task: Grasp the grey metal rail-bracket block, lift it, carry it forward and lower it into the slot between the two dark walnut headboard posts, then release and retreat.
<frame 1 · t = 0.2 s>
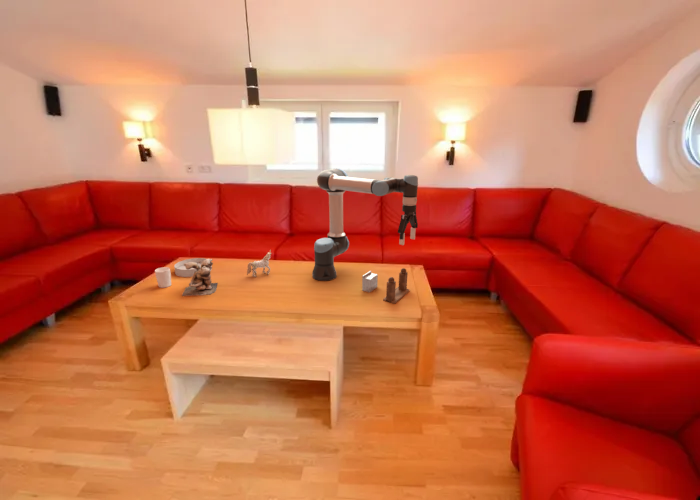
hand: (407, 241, 202), 27 cm above the table, fingers open, 13 cm apart
white cup: (165, 285, 210), on the table
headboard: (396, 295, 199), on the table
unicorn figurine: (260, 273, 229), on the table
dish: (193, 271, 233), on the table
cherub figurine: (200, 289, 206), on the table
rail bracket: (369, 288, 207), on the table
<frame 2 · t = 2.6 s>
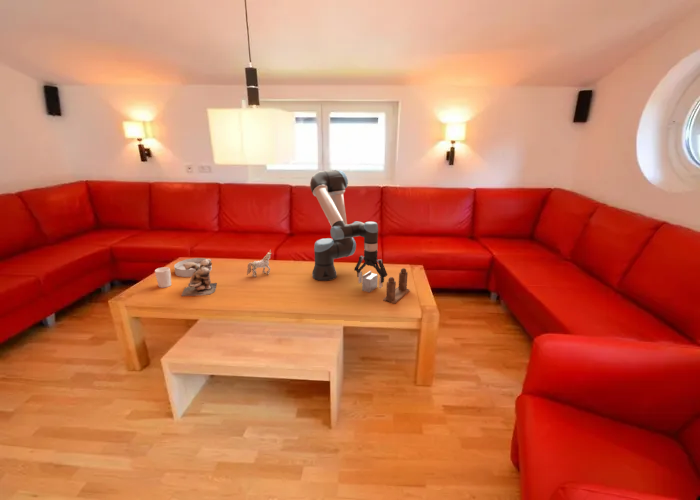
hand: (370, 285, 206), 2 cm above the table, fingers open, 13 cm apart
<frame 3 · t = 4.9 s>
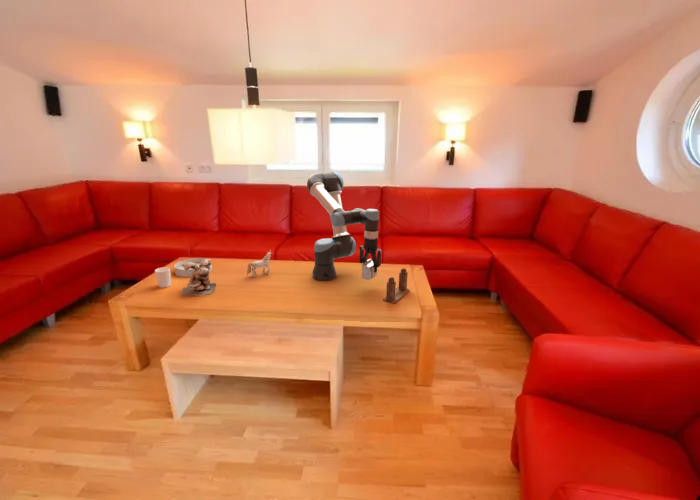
hand: (369, 275, 206), 8 cm above the table, fingers closed on rail bracket, 5 cm apart
rail bracket: (369, 276, 206), point 7 cm above the table, touching gripper
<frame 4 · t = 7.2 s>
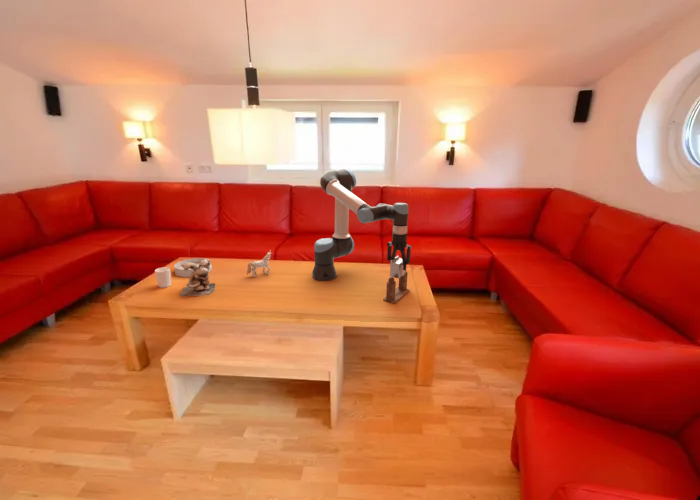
hand: (397, 274, 195), 13 cm above the table, fingers closed on rail bracket, 5 cm apart
rail bracket: (397, 274, 195), point 13 cm above the table, touching gripper
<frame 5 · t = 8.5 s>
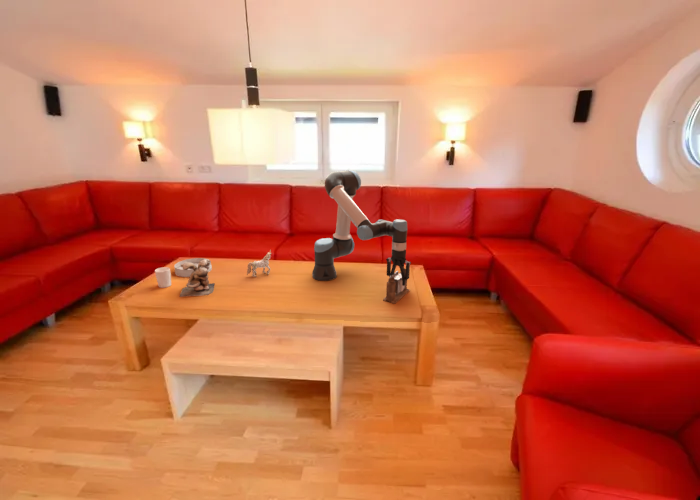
hand: (397, 289, 197), 4 cm above the table, fingers closed on rail bracket, 5 cm apart
rail bracket: (397, 289, 197), point 4 cm above the table, touching gripper
when the fingers open (2 cm above the table, at t = 9.7 s): rail bracket stays where it is, resting on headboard.
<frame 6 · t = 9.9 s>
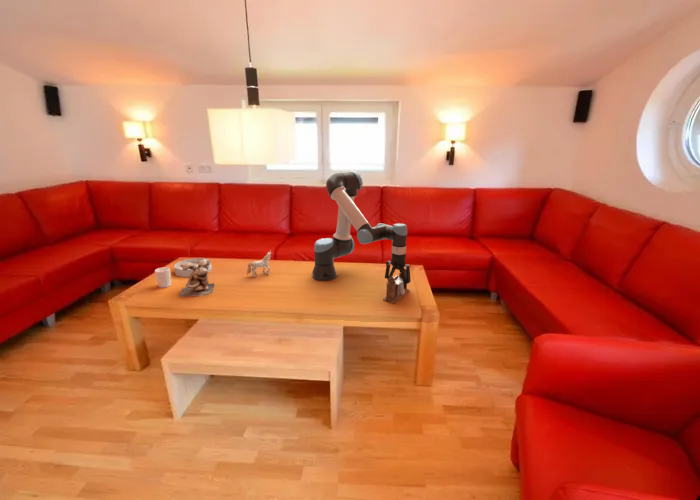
hand: (396, 292, 198), 2 cm above the table, fingers open, 7 cm apart
rail bracket: (396, 294, 198), point 1 cm above the table, touching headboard
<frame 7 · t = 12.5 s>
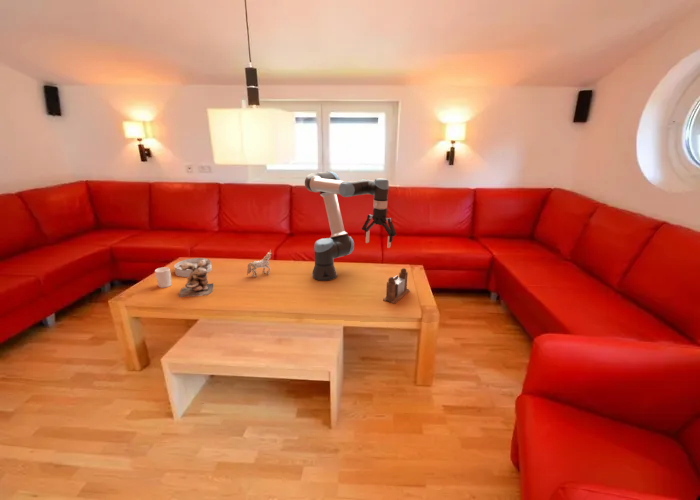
hand: (377, 244, 201), 26 cm above the table, fingers open, 13 cm apart
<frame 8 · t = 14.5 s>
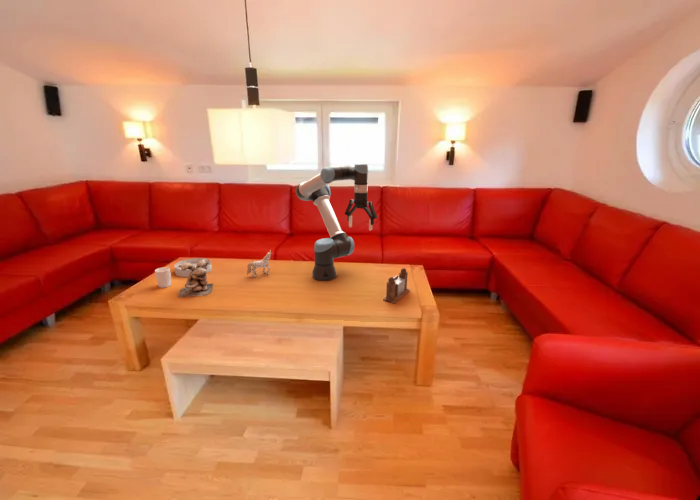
hand: (360, 228, 208), 33 cm above the table, fingers open, 13 cm apart
at the end: rail bracket inside the target area on the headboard (0.1 cm from its centre), point 1.0 cm above the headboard's base; rail bracket tilted 0°; the gripper is holding nothing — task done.
